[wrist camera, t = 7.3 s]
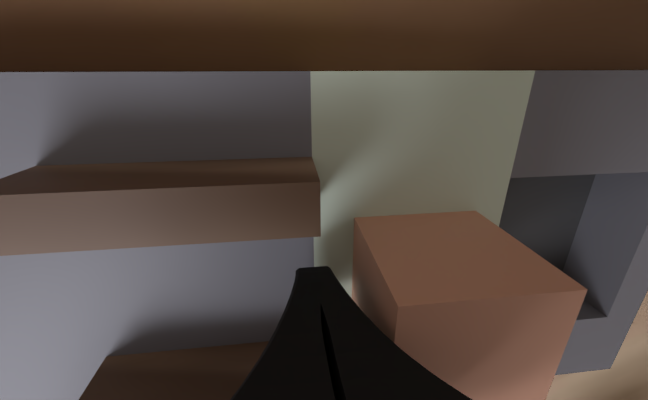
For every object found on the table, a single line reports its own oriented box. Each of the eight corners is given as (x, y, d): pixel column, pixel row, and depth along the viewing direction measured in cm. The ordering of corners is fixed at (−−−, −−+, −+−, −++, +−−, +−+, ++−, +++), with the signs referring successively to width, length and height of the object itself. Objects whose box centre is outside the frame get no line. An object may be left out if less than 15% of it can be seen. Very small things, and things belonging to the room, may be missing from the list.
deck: (561, 324, 18) (610, 368, 16) (9, 379, 15) (-52, 446, 12) (654, 71, 13) (752, 69, 10) (-159, 73, 10) (-328, 72, 7)
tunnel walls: (316, 363, 13) (322, 424, 11) (116, 384, 12) (76, 455, 10) (312, 156, 10) (320, 181, 7) (36, 165, 9) (-52, 197, 7)
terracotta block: (456, 308, 13) (537, 418, 9) (351, 318, 12) (384, 439, 8) (475, 210, 11) (587, 289, 7) (354, 217, 11) (398, 306, 7)
